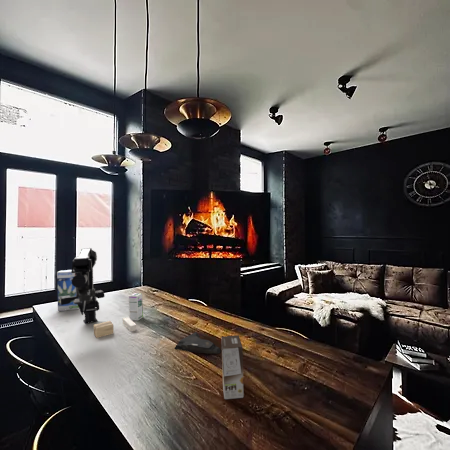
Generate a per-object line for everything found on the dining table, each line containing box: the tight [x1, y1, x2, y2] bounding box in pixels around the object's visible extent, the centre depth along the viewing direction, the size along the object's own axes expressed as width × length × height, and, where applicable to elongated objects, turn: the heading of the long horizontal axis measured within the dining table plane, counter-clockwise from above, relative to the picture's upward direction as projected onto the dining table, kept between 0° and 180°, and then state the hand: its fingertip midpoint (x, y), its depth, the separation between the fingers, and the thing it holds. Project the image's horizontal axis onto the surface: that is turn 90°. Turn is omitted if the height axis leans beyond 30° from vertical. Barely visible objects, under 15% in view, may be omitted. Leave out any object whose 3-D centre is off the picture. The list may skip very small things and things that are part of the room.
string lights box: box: [56, 269, 80, 311], centre depth 176 cm, size 13×8×26 cm, turn 104°
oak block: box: [93, 320, 114, 339], centre depth 133 cm, size 6×8×5 cm
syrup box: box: [128, 292, 144, 321], centre depth 153 cm, size 6×6×14 cm
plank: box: [122, 316, 137, 333], centre depth 141 cm, size 14×3×3 cm, turn 37°
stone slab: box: [174, 331, 222, 355], centre depth 116 cm, size 22×16×5 cm
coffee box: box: [220, 334, 245, 400], centre depth 85 cm, size 9×6×16 cm
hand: (83, 314), depth 127 cm, fingers closed
